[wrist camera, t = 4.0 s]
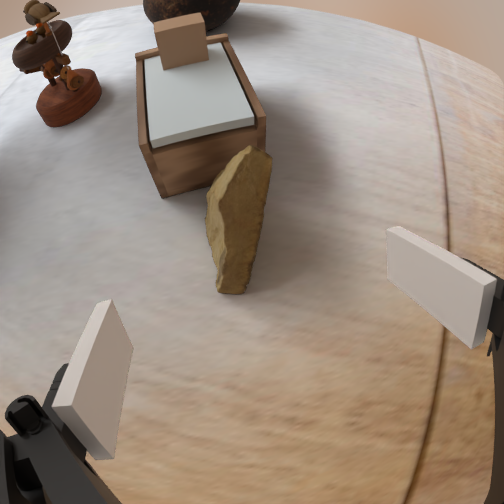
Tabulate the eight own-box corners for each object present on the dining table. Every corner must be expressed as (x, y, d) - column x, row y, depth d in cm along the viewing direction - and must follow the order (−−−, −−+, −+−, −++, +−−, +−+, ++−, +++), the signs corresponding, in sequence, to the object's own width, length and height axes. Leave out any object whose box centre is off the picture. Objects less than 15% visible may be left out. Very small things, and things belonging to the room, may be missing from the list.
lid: (152, 148, 26) (134, 96, 20) (146, 66, 32) (135, 24, 26) (254, 124, 27) (253, 69, 21) (221, 49, 33) (217, 7, 27)
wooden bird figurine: (124, 82, 41) (80, -23, 23) (82, 135, 38) (14, 29, 19) (63, 79, 44) (18, -2, 25) (25, 125, 41) (-35, 45, 22)
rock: (268, 314, 25) (318, 208, 27) (188, 264, 20) (260, 139, 22) (194, 283, 33) (238, 202, 35) (127, 242, 27) (183, 153, 30)
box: (161, 198, 32) (137, 140, 24) (150, 105, 39) (135, 53, 31) (264, 173, 33) (266, 110, 25) (230, 87, 40) (226, 33, 32)
